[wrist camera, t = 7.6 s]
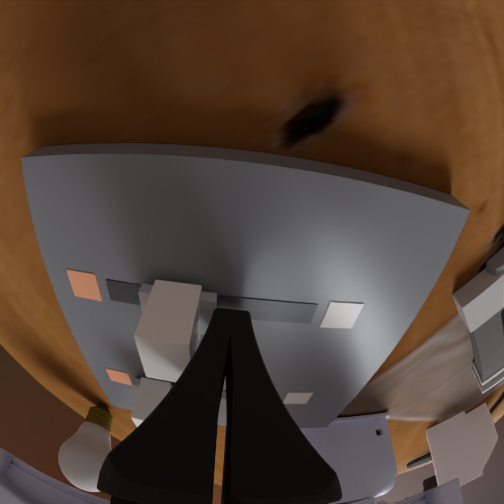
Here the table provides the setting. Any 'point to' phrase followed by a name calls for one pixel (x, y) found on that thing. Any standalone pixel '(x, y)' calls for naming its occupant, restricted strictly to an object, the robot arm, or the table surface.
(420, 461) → the microphone
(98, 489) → the robot arm
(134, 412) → the breaker on
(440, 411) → the table surface
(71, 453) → the light bulb
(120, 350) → the panel
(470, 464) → the white chamfered block
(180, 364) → the breaker
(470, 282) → the alarm clock
